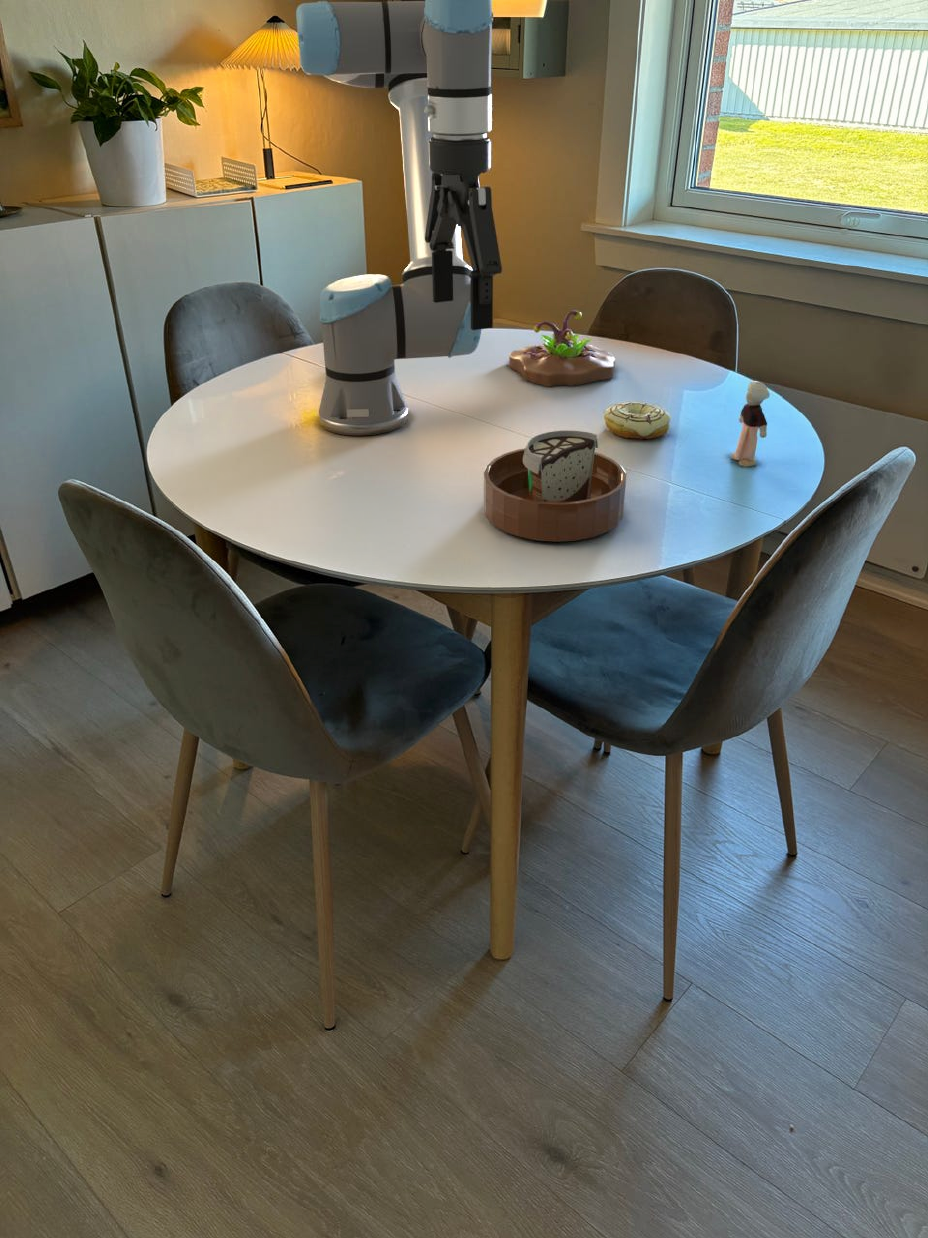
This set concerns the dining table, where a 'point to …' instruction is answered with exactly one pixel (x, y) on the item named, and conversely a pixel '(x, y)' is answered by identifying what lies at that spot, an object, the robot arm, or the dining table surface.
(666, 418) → the decorated donut
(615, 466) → the bowl
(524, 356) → the plant
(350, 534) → the dining table surface
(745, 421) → the grandmother figurine
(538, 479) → the food container
